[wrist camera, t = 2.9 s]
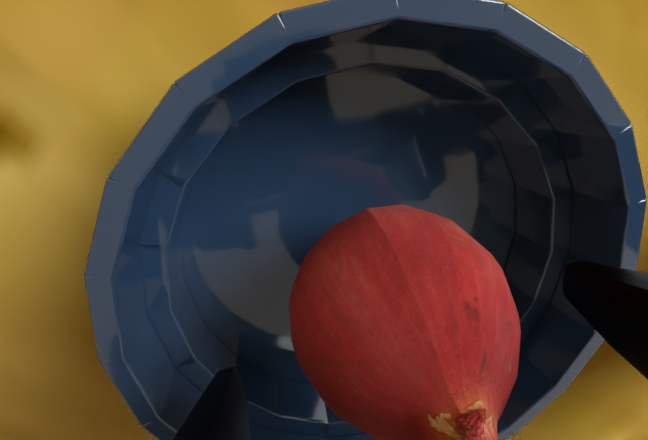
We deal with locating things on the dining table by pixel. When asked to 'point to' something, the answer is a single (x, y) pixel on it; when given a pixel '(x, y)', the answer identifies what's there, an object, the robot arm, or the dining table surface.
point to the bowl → (355, 196)
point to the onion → (406, 326)
